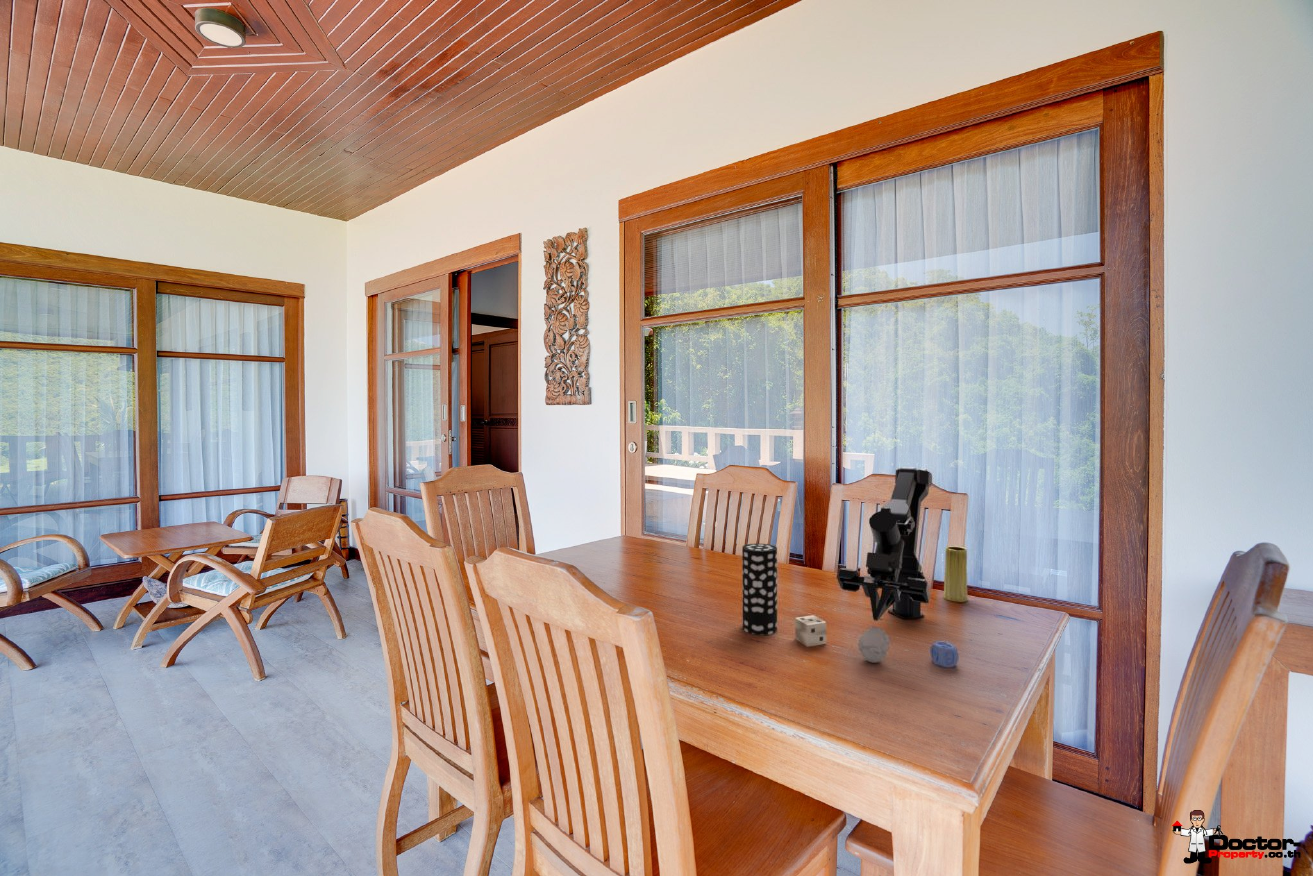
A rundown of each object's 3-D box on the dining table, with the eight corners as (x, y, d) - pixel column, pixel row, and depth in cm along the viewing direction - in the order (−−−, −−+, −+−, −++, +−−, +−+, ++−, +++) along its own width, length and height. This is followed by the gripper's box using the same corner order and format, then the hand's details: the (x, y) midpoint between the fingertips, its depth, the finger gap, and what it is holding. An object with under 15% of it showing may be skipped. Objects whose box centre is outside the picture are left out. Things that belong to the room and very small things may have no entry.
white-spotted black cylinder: (756, 637, 137) (756, 553, 136) (735, 626, 144) (735, 546, 143) (784, 631, 141) (784, 548, 140) (762, 620, 148) (762, 542, 147)
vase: (965, 596, 165) (966, 546, 165) (969, 603, 159) (970, 551, 159) (942, 594, 167) (942, 545, 167) (945, 601, 161) (945, 550, 161)
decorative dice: (948, 659, 124) (948, 640, 124) (958, 667, 120) (959, 648, 120) (929, 659, 124) (930, 641, 124) (939, 668, 120) (939, 648, 120)
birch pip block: (795, 639, 136) (795, 617, 136) (813, 636, 138) (813, 614, 137) (807, 647, 131) (807, 624, 131) (826, 644, 133) (826, 622, 133)
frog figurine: (896, 662, 123) (896, 629, 123) (876, 670, 119) (876, 637, 119) (870, 652, 128) (871, 621, 128) (850, 660, 124) (851, 628, 123)
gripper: (839, 532, 133) (823, 593, 124) (928, 542, 123) (917, 609, 114) (848, 559, 140) (834, 618, 131) (934, 570, 130) (924, 635, 121)
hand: (875, 619), depth 124 cm, fingers closed
